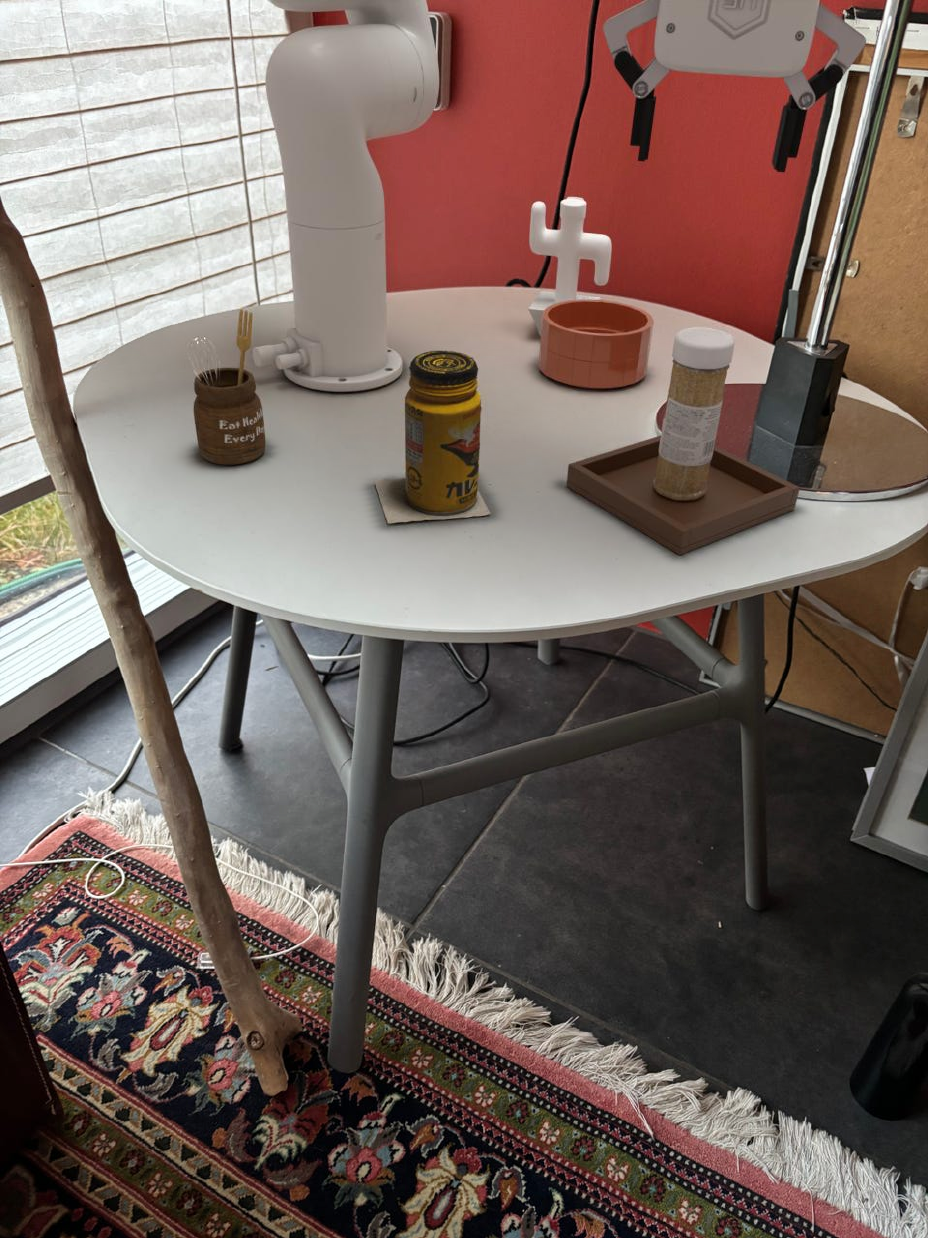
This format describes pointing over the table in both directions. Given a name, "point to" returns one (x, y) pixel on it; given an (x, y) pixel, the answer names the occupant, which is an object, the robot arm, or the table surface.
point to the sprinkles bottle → (692, 411)
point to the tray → (681, 526)
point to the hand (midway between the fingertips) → (709, 162)
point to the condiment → (438, 443)
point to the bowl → (595, 343)
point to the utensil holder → (229, 408)
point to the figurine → (567, 253)
